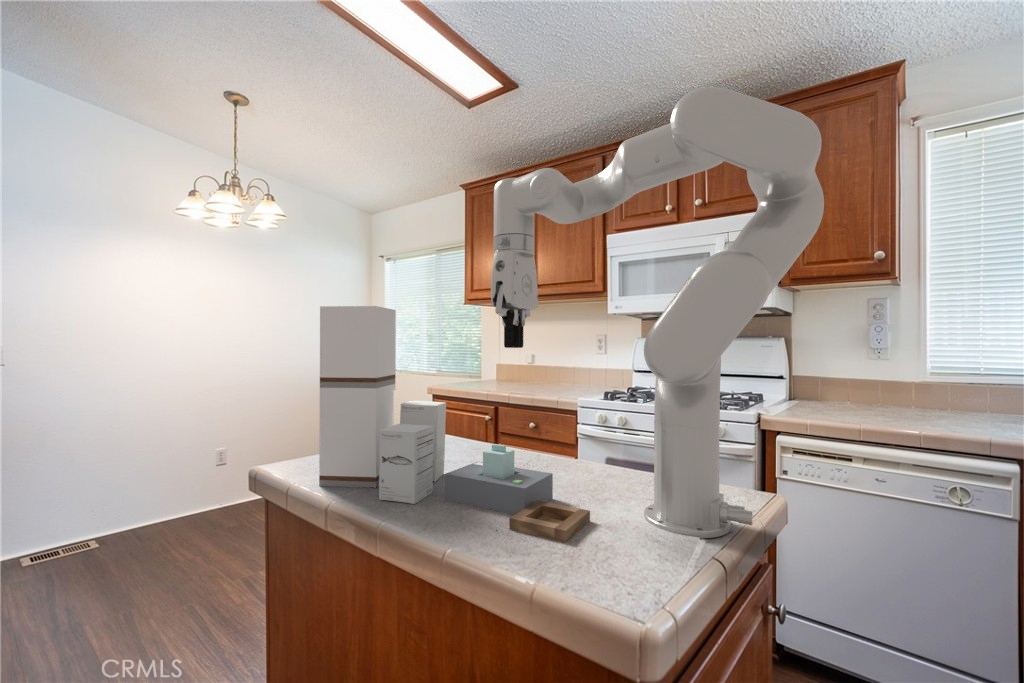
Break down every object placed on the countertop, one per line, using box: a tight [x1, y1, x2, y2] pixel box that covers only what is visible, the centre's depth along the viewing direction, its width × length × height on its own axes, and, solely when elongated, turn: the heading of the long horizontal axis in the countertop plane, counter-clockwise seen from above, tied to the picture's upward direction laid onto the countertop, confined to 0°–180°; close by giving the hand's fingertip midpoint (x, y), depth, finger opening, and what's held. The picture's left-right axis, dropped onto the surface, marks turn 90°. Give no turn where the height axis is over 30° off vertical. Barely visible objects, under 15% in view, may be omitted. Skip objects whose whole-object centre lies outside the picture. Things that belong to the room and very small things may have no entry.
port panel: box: [444, 461, 554, 516], centre depth 82 cm, size 16×10×5 cm, turn 59°
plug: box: [482, 443, 515, 480], centre depth 82 cm, size 4×4×9 cm
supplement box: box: [378, 423, 434, 505], centre depth 85 cm, size 7×7×13 cm
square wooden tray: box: [508, 501, 591, 544], centre depth 70 cm, size 9×9×2 cm
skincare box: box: [399, 400, 447, 483], centre depth 98 cm, size 8×7×16 cm
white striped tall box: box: [318, 305, 397, 489], centre depth 96 cm, size 11×11×35 cm
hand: (513, 347), depth 86 cm, fingers closed
